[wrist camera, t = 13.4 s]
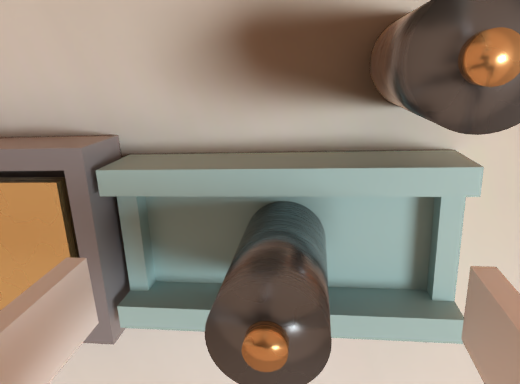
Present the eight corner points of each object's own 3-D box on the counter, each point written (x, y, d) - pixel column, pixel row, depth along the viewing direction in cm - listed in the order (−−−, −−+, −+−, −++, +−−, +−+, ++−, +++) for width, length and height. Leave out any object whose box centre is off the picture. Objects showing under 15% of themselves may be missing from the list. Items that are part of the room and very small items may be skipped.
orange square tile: (-58, 177, 20) (-76, 183, 20) (68, 176, 20) (56, 182, 19) (-25, 298, 22) (-41, 308, 21) (91, 302, 22) (80, 313, 21)
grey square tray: (-55, 138, 22) (-119, 151, 19) (118, 135, 21) (81, 147, 18) (-13, 299, 25) (-62, 334, 22) (141, 305, 24) (113, 344, 21)
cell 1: (242, 201, 20) (192, 292, 12) (324, 200, 20) (331, 294, 11) (248, 274, 21) (206, 403, 13) (326, 275, 21) (332, 410, 13)
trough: (130, 154, 21) (95, 170, 18) (454, 150, 19) (483, 167, 16) (147, 291, 24) (120, 327, 20) (440, 301, 21) (462, 343, 18)
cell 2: (371, 16, 18) (416, -27, 10) (467, 10, 17) (601, -40, 9) (368, 108, 19) (407, 139, 11) (458, 106, 19) (570, 136, 10)
